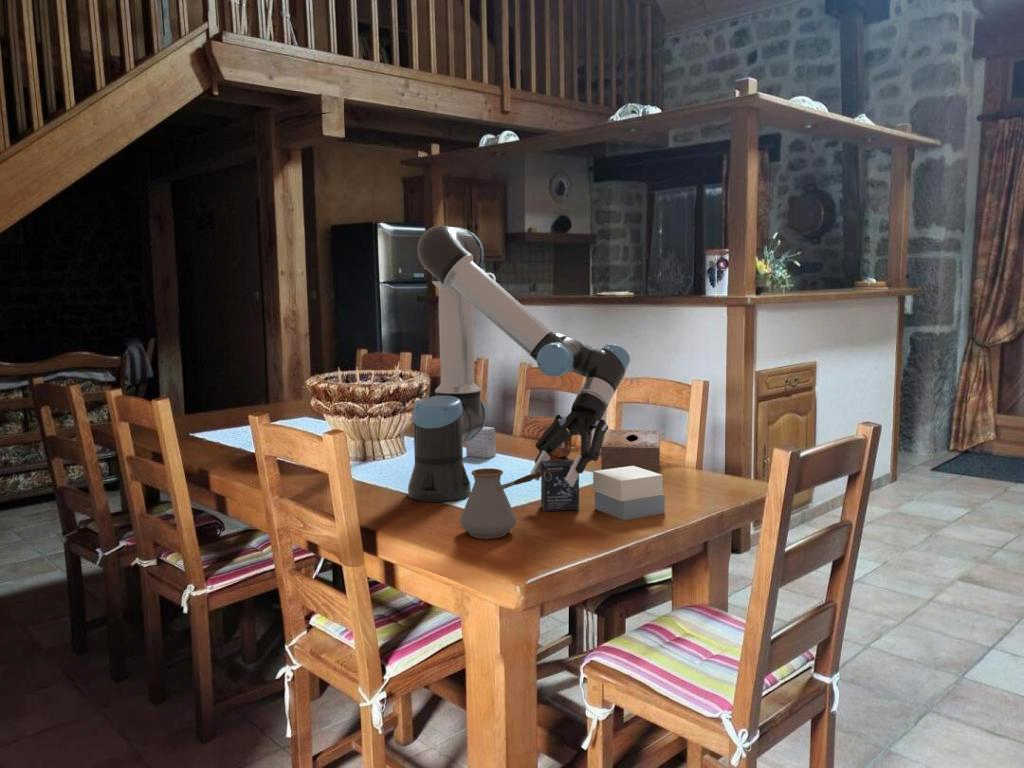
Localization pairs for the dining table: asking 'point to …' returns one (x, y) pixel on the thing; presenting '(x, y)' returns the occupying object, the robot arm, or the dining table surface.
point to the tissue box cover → (631, 449)
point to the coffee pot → (491, 504)
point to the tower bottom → (630, 506)
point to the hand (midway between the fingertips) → (551, 480)
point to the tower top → (627, 483)
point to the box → (558, 487)
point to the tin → (562, 447)
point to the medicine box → (482, 444)
